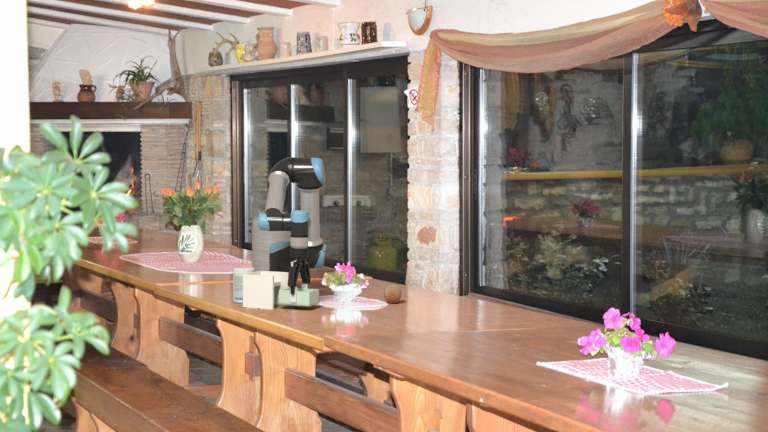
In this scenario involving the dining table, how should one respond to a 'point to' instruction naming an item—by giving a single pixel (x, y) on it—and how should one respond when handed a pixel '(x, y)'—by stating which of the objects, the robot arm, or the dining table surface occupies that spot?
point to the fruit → (392, 294)
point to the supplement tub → (239, 283)
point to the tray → (299, 297)
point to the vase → (264, 244)
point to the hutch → (263, 288)
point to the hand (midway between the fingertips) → (299, 300)
